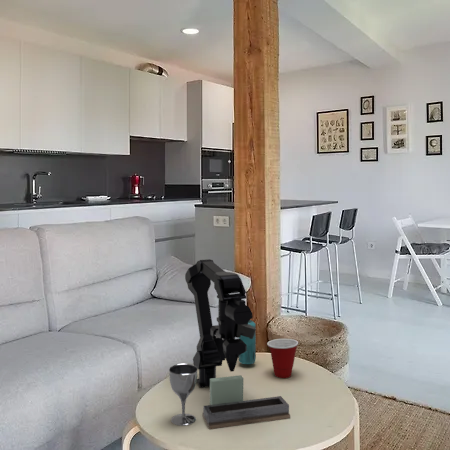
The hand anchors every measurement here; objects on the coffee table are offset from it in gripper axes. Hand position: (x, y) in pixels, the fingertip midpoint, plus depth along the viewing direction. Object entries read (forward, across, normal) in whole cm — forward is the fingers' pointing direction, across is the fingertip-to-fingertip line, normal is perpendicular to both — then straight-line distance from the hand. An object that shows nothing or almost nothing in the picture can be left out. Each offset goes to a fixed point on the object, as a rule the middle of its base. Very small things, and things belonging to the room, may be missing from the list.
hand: (227, 365), depth 153 cm
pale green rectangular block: (+12, 0, 0) cm, 12 cm away
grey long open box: (+12, -10, -3) cm, 16 cm away
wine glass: (+12, -6, +15) cm, 20 cm away
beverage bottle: (+12, +28, -16) cm, 34 cm away
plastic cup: (+12, +16, -25) cm, 32 cm away
